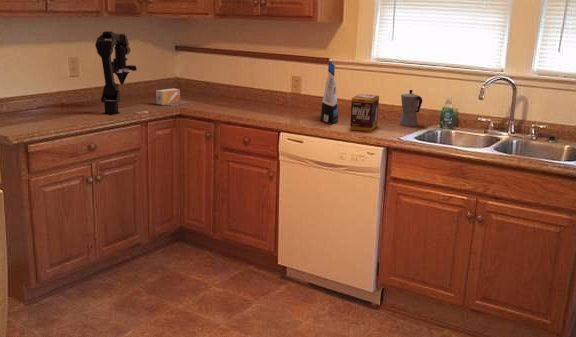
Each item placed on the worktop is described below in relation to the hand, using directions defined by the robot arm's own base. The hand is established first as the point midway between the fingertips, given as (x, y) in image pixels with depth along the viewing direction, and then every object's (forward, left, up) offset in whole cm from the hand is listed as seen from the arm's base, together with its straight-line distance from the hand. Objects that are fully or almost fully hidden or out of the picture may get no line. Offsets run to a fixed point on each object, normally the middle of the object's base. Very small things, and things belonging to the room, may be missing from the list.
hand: (121, 84), depth 339 cm
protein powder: (+36, -114, -13) cm, 120 cm away
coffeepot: (+49, -154, -13) cm, 162 cm away
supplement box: (+29, -137, -13) cm, 141 cm away
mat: (+27, -10, -13) cm, 32 cm away
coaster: (-7, -21, -13) cm, 26 cm away
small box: (+18, -11, -9) cm, 23 cm away
